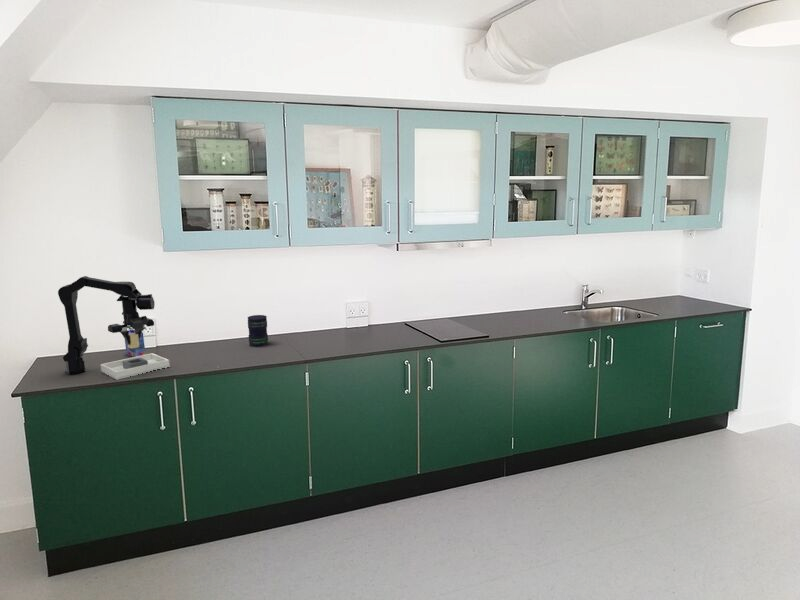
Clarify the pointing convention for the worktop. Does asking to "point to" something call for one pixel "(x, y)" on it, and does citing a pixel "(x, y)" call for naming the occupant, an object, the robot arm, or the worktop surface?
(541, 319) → the worktop surface
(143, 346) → the ink cartridge box
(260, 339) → the storage jar
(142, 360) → the walled box
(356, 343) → the worktop surface
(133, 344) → the peg
